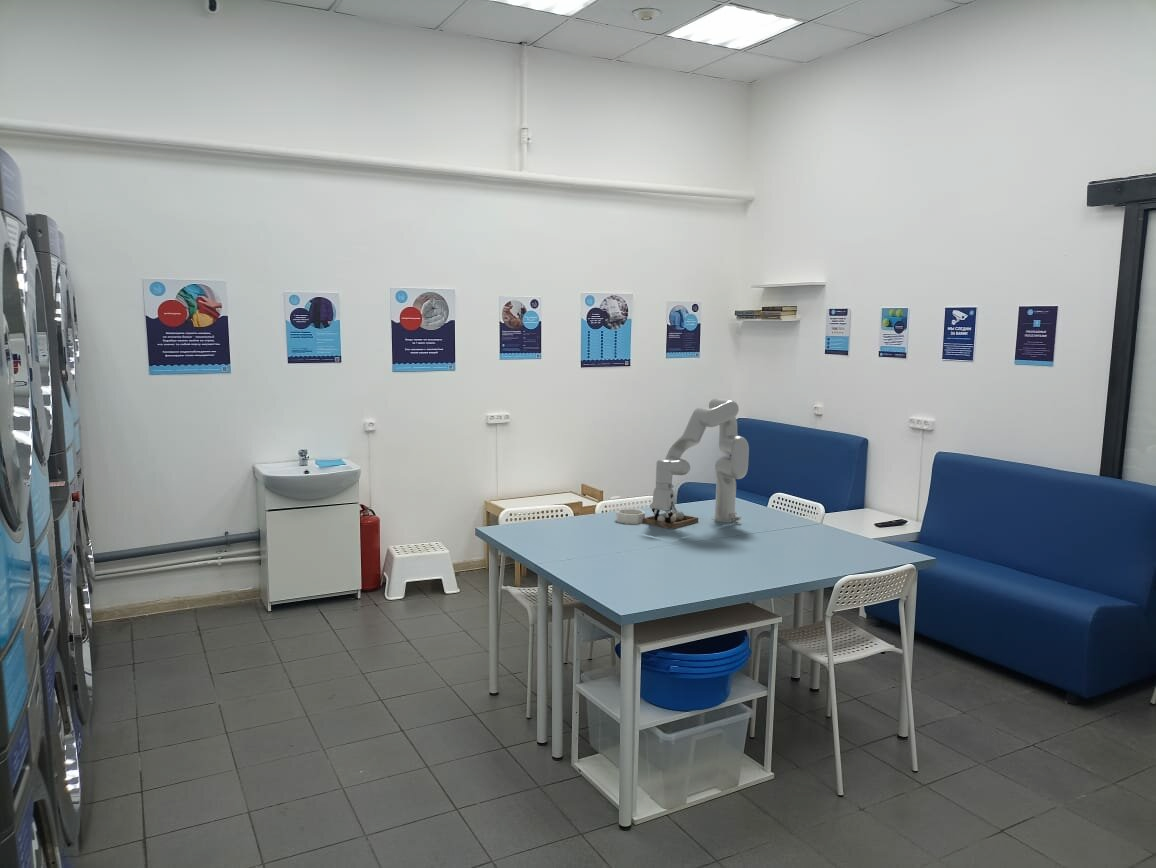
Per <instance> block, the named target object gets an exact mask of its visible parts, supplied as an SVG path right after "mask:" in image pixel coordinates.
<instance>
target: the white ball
mask: <svg viewBox="0 0 1156 868" xmlns="http://www.w3.org/2000/svg"><path fill="white" fill-rule="evenodd" d="M659 514H660V515H659V516H658V518H657V521H661V522H665V518H666V515H665V514H663V513H659Z"/></svg>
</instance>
